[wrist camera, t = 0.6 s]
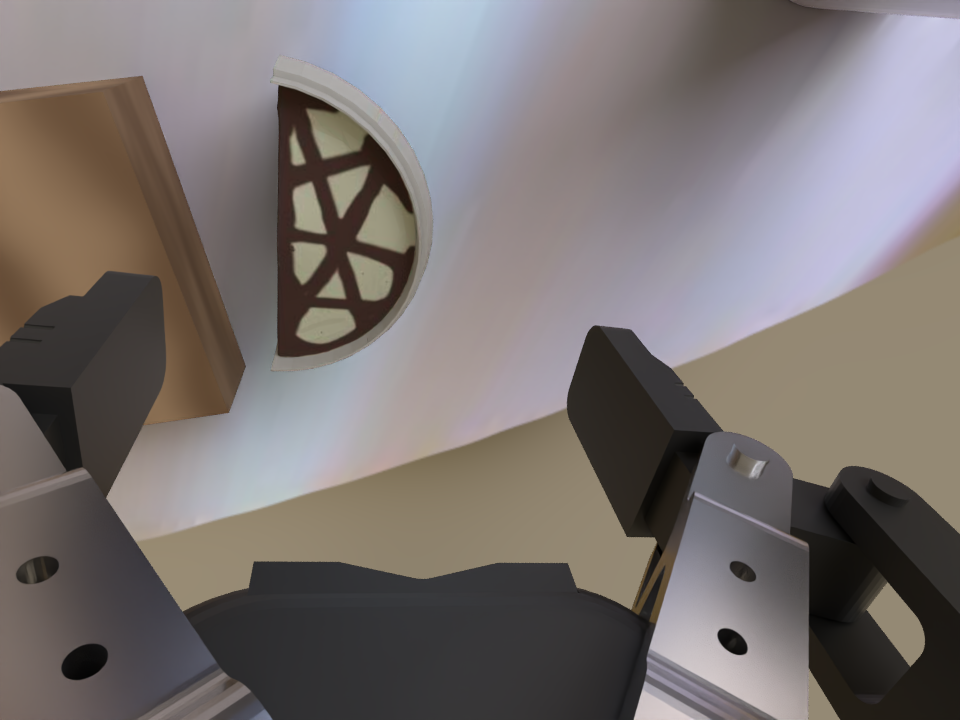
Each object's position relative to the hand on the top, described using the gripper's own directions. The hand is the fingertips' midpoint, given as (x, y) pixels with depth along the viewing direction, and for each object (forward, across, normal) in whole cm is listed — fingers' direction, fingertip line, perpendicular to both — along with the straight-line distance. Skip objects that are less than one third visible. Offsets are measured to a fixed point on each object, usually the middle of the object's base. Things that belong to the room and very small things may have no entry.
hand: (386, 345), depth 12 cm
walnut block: (+23, +15, +9) cm, 29 cm away
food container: (+22, 0, +2) cm, 22 cm away
